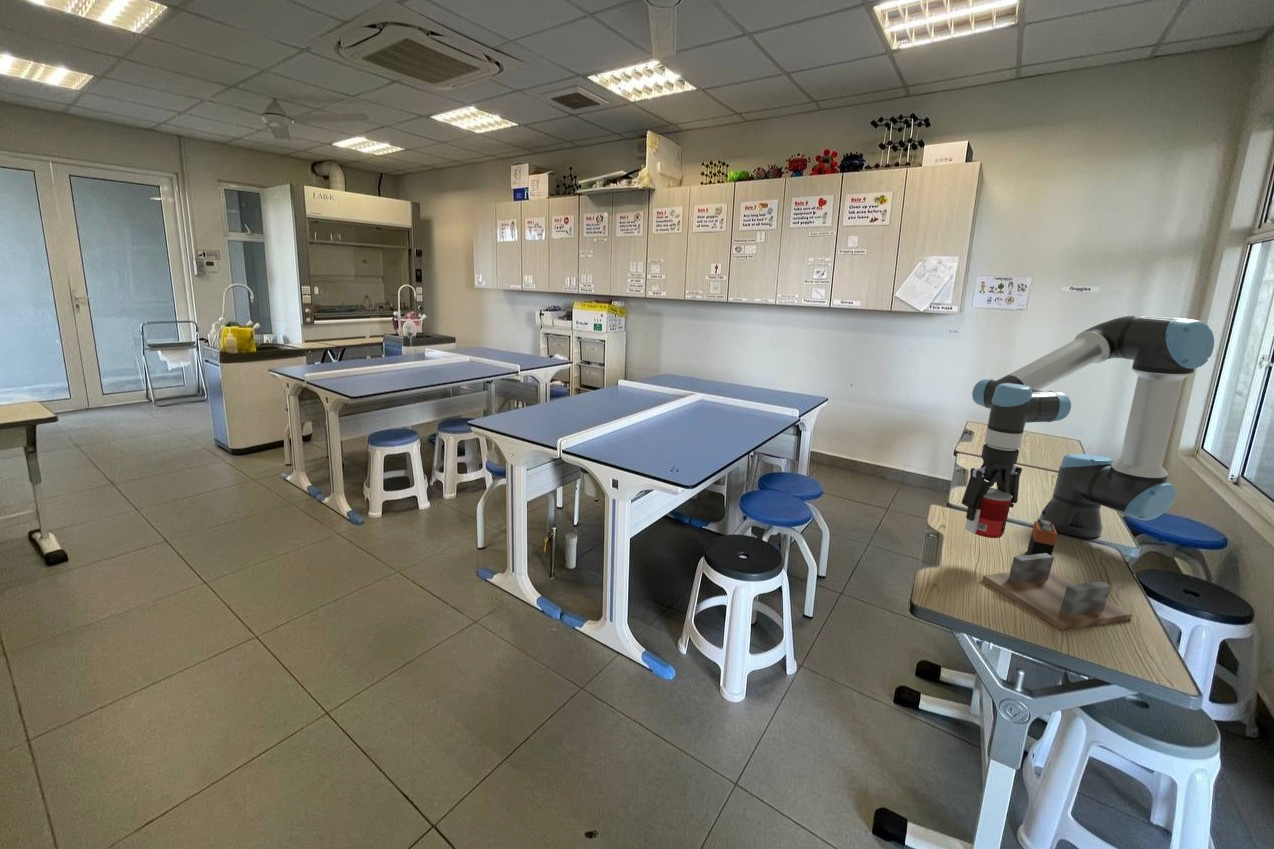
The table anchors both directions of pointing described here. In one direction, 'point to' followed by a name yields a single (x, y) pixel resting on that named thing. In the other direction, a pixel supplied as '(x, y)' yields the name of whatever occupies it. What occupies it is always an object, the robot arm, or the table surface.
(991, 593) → the table surface
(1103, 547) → the table surface
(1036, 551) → the battery
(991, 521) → the canned food
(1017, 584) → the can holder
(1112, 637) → the table surface
